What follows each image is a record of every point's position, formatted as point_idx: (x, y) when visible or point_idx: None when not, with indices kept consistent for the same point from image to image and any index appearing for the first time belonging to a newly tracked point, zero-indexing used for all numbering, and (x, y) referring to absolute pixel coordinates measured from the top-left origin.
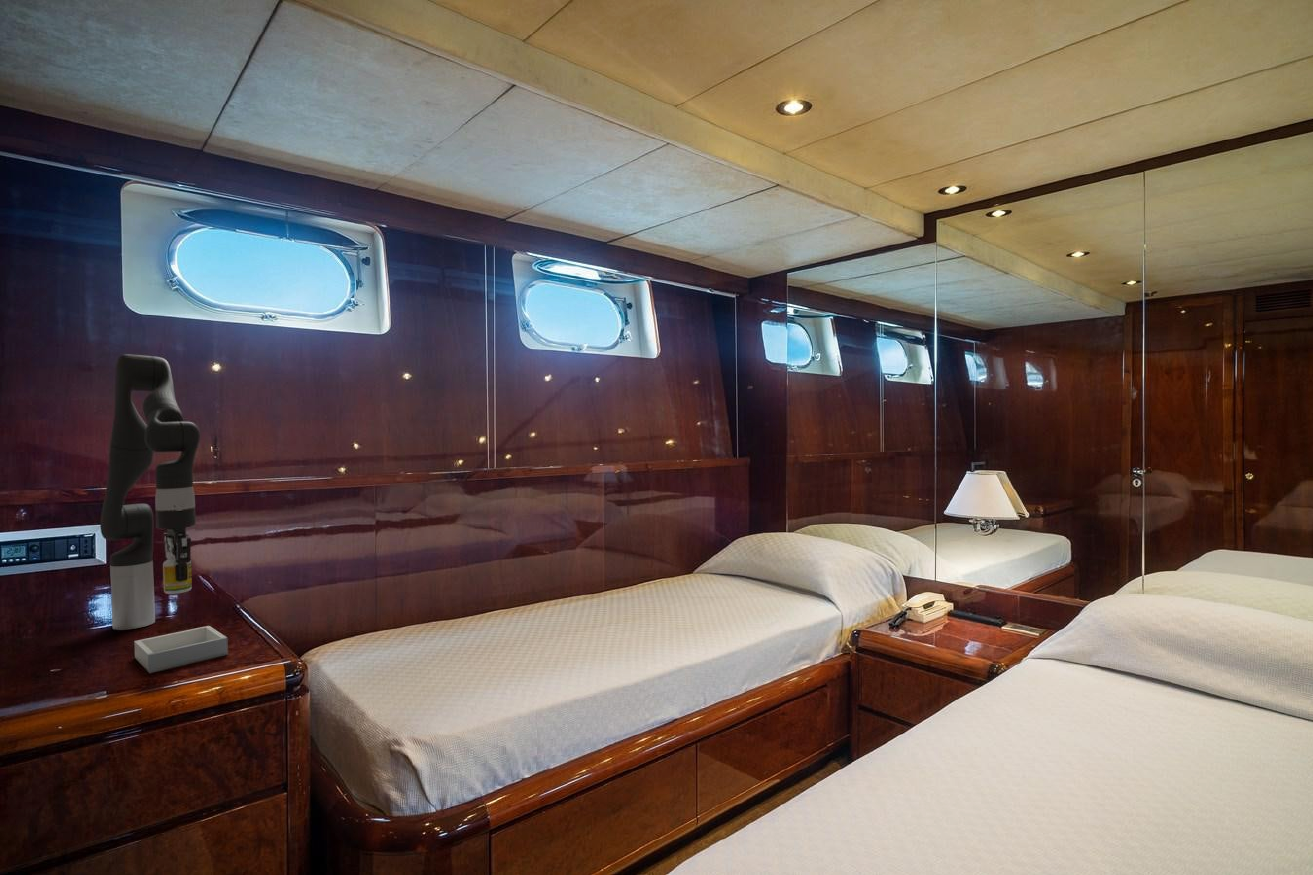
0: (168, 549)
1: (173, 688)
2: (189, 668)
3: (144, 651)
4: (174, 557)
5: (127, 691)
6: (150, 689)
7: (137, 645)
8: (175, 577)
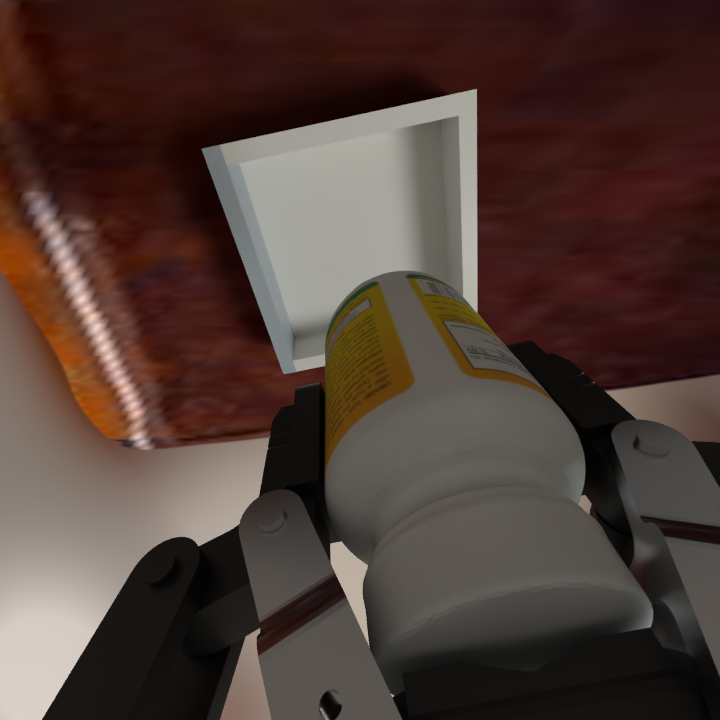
0: (682, 620)
1: (9, 217)
2: (206, 260)
3: (281, 131)
4: (298, 580)
5: (23, 72)
6: (22, 150)
7: (412, 103)
8: (325, 393)
